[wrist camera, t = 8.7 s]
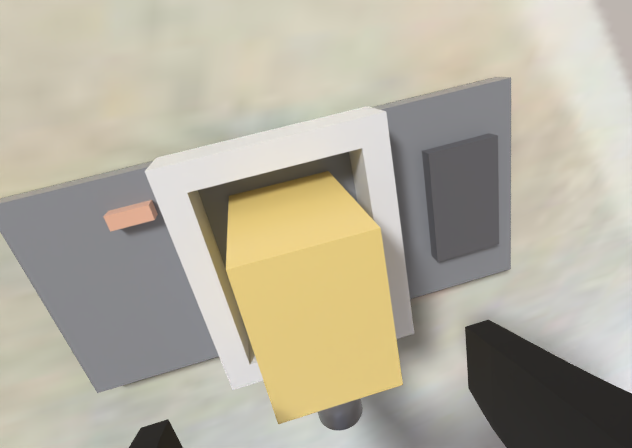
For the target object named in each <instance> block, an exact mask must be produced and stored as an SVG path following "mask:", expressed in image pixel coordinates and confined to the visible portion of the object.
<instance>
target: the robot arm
mask: <svg viewBox="0 0 632 448" xmlns="http://www.w3.org/2000/svg"><path fill="white" fill-rule="evenodd" d="M465 332H466V350H467V368H468V386H469V390H470V391H471V393H472V395H473V397H474V398H475V400H476V402H477V404H478V405H479V407H480V409H481V410H482V412H483V414H484V415H485V417H486V419H487V420H488V422H489V423H490V425H491V427H492V428H493V430H494V431H495V432H496V434H497V435H498V437H499V438H500V439H501V441H502V442H503V443H504V445H505V446H506V447H507V448H632V394H631V393H629V392H627V391H625V390H623V389H621V388H618V387H616V386H614V385H612V384H610V383H608V382H606V381H604V380H602V379H600V378H598V377H596V376H594V375H592V374H590V373H588V372H586V371H584V370H582V369H580V368H578V367H576V366H574V365H572V364H570V363H568V362H566V361H564V360H562V359H561V358H559V357H557V356H555V355H553V354H551V353H549V352H547V351H545V350H544V349H542V348H540V347H538V346H536V345H534V344H532V343H531V342H529V341H527V340H525V339H523V338H521V337H520V336H518V335H516V334H514V333H512V332H510V331H509V330H507V329H505V328H503V327H501V326H499V325H497V324H496V323H494V322H492V321H490V320H486V321H483V322H480V323H476V324H473V325H470V326H467V327H465ZM129 448H183V447H182V445H181V443H180V441H179V439H178V437H177V436H176V434H175V432H174V430H173V428H172V426H171V424H170V422H169V420H165V421H161V422H158V423H155V424H152V425H149V426H145V427H142V428H141V429H140V430H139V432H138V433H137V435H136V437H135V438H134V440H133V442H132V443H131V445H130V447H129Z"/></svg>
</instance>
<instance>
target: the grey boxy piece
mask: <svg viewBox="0 0 632 448" xmlns="http://www.w3.org/2000/svg"><path fill="white" fill-rule="evenodd" d="M326 171H329V172H330V173H331V175H332V176H333V177H334V178H335V179H336V180H337V181H338V182H339V183H340V184H341V185H342V186H343V188H344V189H345V190H346V191H347V192H348V193H349V194H350V195H351V196H352V197H353V198H354V199H355V201H356V202H357V203H358V204H359V205H360V206H361V207H362V208H363V209H364V210H365V211H366V213H367V214H368V215H369V216H370V217H371V218H372V219H373V220H374V221H375V222H376V223H377V224H378V226H379V227H380V228H381V234H382V241H383V248H384V255H385V262H386V269H387V276H388V283H389V290H390V297H391V304H392V312H393V319H394V326H395V333H396V339H399V338H402V337H405V336H409V335H412V334H414V327H413V319H412V311H411V303H410V299H412V298H415V297H419V296H422V295H425V294H429V293H432V292H435V291H439V290H442V289H445V288H449V287H452V286H455V285H459V284H462V283H465V282H469V281H472V280H475V279H479V278H482V277H485V276H489V275H492V274H495V273H499V272H502V271H505V270H509V269H511V78H507V77H494V78H490V79H486V80H482V81H478V82H473V83H469V84H465V85H461V86H457V87H453V88H449V89H445V90H441V91H437V92H433V93H429V94H425V95H420V96H416V97H412V98H408V99H404V100H400V101H396V102H392V103H388V104H384V105H380V106H376V107H368V106H366V107H362V108H358V109H354V110H349V111H345V112H341V113H337V114H333V115H329V116H325V117H321V118H317V119H313V120H309V121H304V122H300V123H296V124H292V125H288V126H284V127H280V128H276V129H272V130H268V131H264V132H259V133H255V134H251V135H247V136H243V137H239V138H235V139H231V140H227V141H223V142H219V143H214V144H210V145H206V146H202V147H198V148H194V149H190V150H186V151H182V152H178V153H174V154H169V155H165V156H161V157H157V158H156V159H155V160H154V161H151V162H147V163H143V164H139V165H135V166H131V167H127V168H123V169H118V170H114V171H110V172H106V173H102V174H98V175H94V176H90V177H86V178H82V179H78V180H74V181H70V182H65V183H61V184H57V185H53V186H49V187H45V188H41V189H37V190H33V191H29V192H25V193H21V194H16V195H12V196H8V197H4V198H1V199H0V232H1V234H2V235H3V237H4V239H5V240H6V242H7V244H8V245H9V247H10V249H11V250H12V252H13V254H14V255H15V257H16V259H17V260H18V262H19V264H20V265H21V267H22V269H23V270H24V272H25V274H26V275H27V277H28V279H29V280H30V282H31V284H32V285H33V287H34V288H35V290H36V292H37V293H38V295H39V297H40V298H41V300H42V302H43V303H44V305H45V307H46V308H47V310H48V312H49V313H50V315H51V317H52V318H53V320H54V322H55V323H56V325H57V327H58V328H59V330H60V332H61V333H62V335H63V337H64V338H65V340H66V342H67V343H68V345H69V347H70V348H71V350H72V352H73V353H74V355H75V357H76V358H77V360H78V362H79V363H80V365H81V366H82V368H83V370H84V371H85V373H86V375H87V376H88V378H89V380H90V381H91V383H92V385H93V386H94V388H95V390H96V391H97V393H99V392H102V391H106V390H109V389H112V388H116V387H119V386H122V385H126V384H129V383H132V382H136V381H139V380H142V379H146V378H149V377H152V376H156V375H159V374H162V373H166V372H169V371H172V370H176V369H179V368H182V367H186V366H189V365H192V364H196V363H199V362H202V361H206V360H209V359H212V358H216V357H220V360H221V362H222V365H223V367H224V370H225V372H226V375H227V377H228V380H229V382H230V385H231V387H232V390H235V389H238V388H241V387H244V386H247V385H251V384H254V383H257V382H260V381H263V378H262V375H261V372H260V369H259V366H258V363H257V360H256V357H255V354H254V351H253V348H252V345H251V342H250V339H249V336H248V334H247V331H246V328H245V325H244V322H243V319H242V316H241V313H240V310H239V307H238V304H237V301H236V298H235V295H234V292H233V289H232V287H231V284H230V281H229V278H228V275H227V272H226V253H227V228H228V202H229V196H230V195H234V194H238V193H242V192H246V191H250V190H254V189H258V188H262V187H266V186H270V185H274V184H278V183H282V182H286V181H290V180H294V179H298V178H302V177H306V176H310V175H314V174H318V173H322V172H326Z"/></svg>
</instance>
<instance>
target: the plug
mask: <svg viewBox="0 0 632 448" xmlns="http://www.w3.org/2000/svg"><path fill="white" fill-rule="evenodd" d="M226 272H227V275H228V278H229V281H230V284H231V287H232V289H233V292H234V295H235V298H236V301H237V304H238V307H239V310H240V313H241V316H242V319H243V322H244V325H245V328H246V331H247V334H248V336H249V339H250V342H251V345H252V348H253V351H254V354H255V357H256V360H257V363H258V366H259V369H260V372H261V375H262V378H263V381H264V383H265V386H266V389H267V392H268V395H269V398H270V401H271V404H272V407H273V410H274V413H275V416H276V419H277V422H278V424H281V423H284V422H287V421H290V420H293V419H296V418H300V417H303V416H306V415H309V414H312V413H315V412H318V414H319V418H320V420H321V422H322V423H323V425H324V426H326V427H327V428H329V429H332V430H344V429H348V428H350V427H352V426H353V425H355V424H356V423H357V422H358V420H359V419H360V417H361V414H362V404H361V399H360V398H363V397H366V396H369V395H372V394H375V393H379V392H382V391H385V390H388V389H391V388H394V387H397V386H401V385H403V382H402V375H401V368H400V361H399V354H398V347H397V340H396V333H395V326H394V319H393V312H392V304H391V297H390V290H389V283H388V276H387V269H386V262H385V255H384V248H383V241H382V234H381V228H380V227H379V226H378V224H377V223H376V222H375V221H374V220H373V219H372V218H371V217H370V216H369V215H368V214H367V213H366V211H365V210H364V209H363V208H362V207H361V206H360V205H359V204H358V203H357V202H356V201H355V199H354V198H353V197H352V196H351V195H350V194H349V193H348V192H347V191H346V190H345V189H344V188H343V186H342V185H341V184H340V183H339V182H338V181H337V180H336V179H335V178H334V177H333V176H332V175H331V173H330V172H329V171H326V172H322V173H318V174H314V175H310V176H306V177H302V178H298V179H294V180H290V181H286V182H282V183H278V184H274V185H270V186H266V187H262V188H258V189H254V190H250V191H246V192H242V193H238V194H234V195H230V196H229V202H228V228H227V253H226Z"/></svg>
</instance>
